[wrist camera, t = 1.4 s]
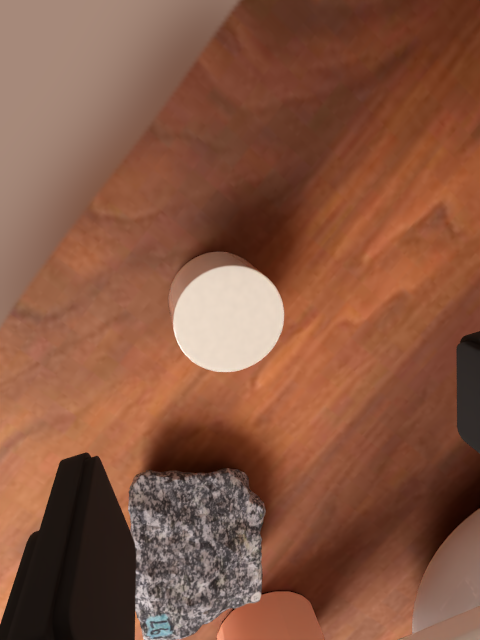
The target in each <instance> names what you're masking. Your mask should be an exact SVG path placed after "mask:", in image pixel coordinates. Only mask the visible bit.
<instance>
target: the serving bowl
mask: <svg viewBox="0 0 480 640" xmlns="http://www.w3.org/2000/svg"><path fill="white" fill-rule="evenodd" d="M478 606H480V508H479V509H478V510H477V511H475V512H474V513H473V514H472V515H470V516H469V517H468V518H467V519H466V520H464V521H463V522H462V523H461V524H460V525H459V526H458V527H457V528H456V529H455V530H454V531H453V532H452V533H451V534H450V535H449V536H448V537H447V538H446V540H445V541H444V542H443V544H442V545H441V546H440V547H439V549H438V550H437V552H436V553H435V555H434V556H433V558H432V559H431V561H430V563H429V565H428V567H427V569H426V570H425V572H424V575H423V577H422V580H421V582H420V585H419V588H418V591H417V595H416V599H415V604H414V610H413V621H412V633H415V632H418V631H420V630H423V629H425V628H427V627H430V626H432V625H434V624H437V623H439V622H442V621H444V620H446V619H449V618H451V617H454V616H456V615H458V614H461V613H463V612H466V611H468V610H470V609H473V608H475V607H478Z"/></svg>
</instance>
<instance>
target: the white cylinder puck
mask: <svg viewBox="0 0 480 640" xmlns="http://www.w3.org/2000/svg"><path fill="white" fill-rule="evenodd" d="M169 309H170V314H171V319H172V324H173V329H174V334H175V337H176V340H177V343H178V345H179V347H180V348H181V350H182V351H183V353H184V354H185V355H186V356H187V357H188V358H189V359H190V360H191V361H193V362H194V363H195V364H197V365H199V366H201V367H203V368H205V369H208V370H212V371H218V372H232V371H238V370H242V369H245V368H248V367H250V366H252V365H254V364H255V363H257V362H259V361H260V360H261V359H263V358H264V357H265V356H266V355H267V354H268V353H269V352H270V351H271V350H272V348H273V347H274V346H275V344H276V342H277V341H278V339H279V336H280V334H281V331H282V328H283V323H284V306H283V302H282V299H281V296H280V293H279V292H278V290H277V288H276V287H275V285H274V284H273V283H272V282H271V281H270V280H269V279H268V278H267V277H266V276H265V275H264V274H262V273H261V272H260V271H259V270H258V269H256V268H255V267H254V266H253V265H251V264H250V263H249V262H248V261H246V260H245V259H243V258H242V257H240V256H238V255H235V254H232V253H227V252H210V253H206V254H203V255H200V256H198V257H196V258H194V259H192V260H191V261H189V262H188V263H187V264H185V265H184V266H183V267H182V268H181V269H180V270H179V272H178V273H177V275H176V276H175V278H174V280H173V282H172V285H171V287H170V292H169Z"/></svg>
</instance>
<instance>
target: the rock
mask: <svg viewBox="0 0 480 640" xmlns="http://www.w3.org/2000/svg"><path fill="white" fill-rule="evenodd" d="M128 511H129V513H130V520H131V530H130V532H131V535H132V537H133V540H134V543H135V549H136V592H135V611H136V614H137V618H138V619H139V621H140V625H141V629H142V634H143V639H144V640H177V639H183V638H185V637H188V636H190V635H193V634H194V633H196V632H197V631H198V630H199V628H200V627H201V626H202V625H203V624H207V623H209V622H211V621H213V620H214V619H215V618H216V617H218V616H219V615H220V614H221V613H222V612H224V611H225V610H227V609H230V608H239V607H241V606H243V605H245V604H248V603H256V602H259V601H260V598H261V593H262V575H263V574H262V565H261V557H262V553H261V549H262V547H261V541H262V538H261V535H260V531H261V528H262V525H263V519H264V515H265V512H266V509H265V505H264V502H263V501H262V500H260V498H259V496H258V495H256V494H255V493H253V492H252V491H251V490H250V488H249V481H248V476H247V475H246V474H245V473H244V472H242V471H240V470H238V469H230V468H225V469H220V470H218V471H216V472H211V473H201V472H200V473H187V472H186V473H184V472H180V471H176V470H174V471H165V472H156V471H152V470H146V472H143V473H140V474H137V475H136V476H135V477H134V478H133V482H132V484H131V486H130V490H129V507H128Z"/></svg>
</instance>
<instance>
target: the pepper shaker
mask: <svg viewBox="0 0 480 640" xmlns="http://www.w3.org/2000/svg"><path fill="white" fill-rule="evenodd" d="M217 640H325V638H324V636H323V633H322V631H321V628H320V626H319V623H318V620H317V618H316V615H315V613H314V610H313V608H312V605H311V603H310V602H309V601H308V600H307V599H306V598H305V597H303V596H302V595H299V594H296V593H293V592H290V591H275V592H271V593H266V594H262V595H261V598H260V601H259V602H256V603H248V604H245V605H243V606H241V607H239V608H236V609H235V610H233V611H232V612H231V613H230V614H229V615H228V617H227V618H226V619H225V620H224V622H223V623H222V624H221V627H220V630H219V632H218V635H217Z"/></svg>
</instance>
